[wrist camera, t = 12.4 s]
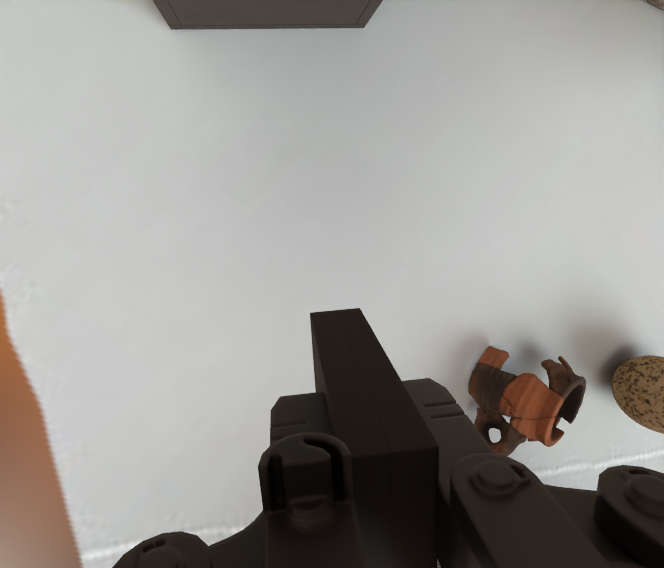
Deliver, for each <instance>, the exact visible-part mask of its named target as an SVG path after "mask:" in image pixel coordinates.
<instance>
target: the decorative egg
mask: <svg viewBox="0 0 664 568" xmlns="http://www.w3.org/2000/svg"><path fill="white" fill-rule="evenodd" d="M611 387H612V393H613V396H614V398H615V400H616V402H617V404H618V405H619V406H620V408H621V409H622V410H623V411H624V412H625V413H626V414H627V415H628V416H629V417H630V418H631V419H633V420H634V421H635V422H637V423H639V424H640V425H642V426H644V427H646V428H648V429H651V430H653V431H656V432H659V433H663V434H664V357H659V356H639V357H635V358H632V359H629V360H627V361H625V362H624V363H622V364H621V365H620V366H619V367H618V368H617V369H616V371H615V373H614V375H613V378H612V385H611Z"/></svg>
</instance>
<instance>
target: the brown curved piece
mask: <svg viewBox="0 0 664 568" xmlns="http://www.w3.org/2000/svg"><path fill="white" fill-rule="evenodd" d="M508 357H509V354H508V353H507V352H506V351H503V350H499V349H497V348H494V347H489V348H488V349H487V350H486V351H485V353H484V354H483V355H482V356H481V358H480V360H479V362H478V363H477V365H476V367H475V369H474V370H473V372H472V375H471V378H470V381H469V394H470V395H471V396H472V397H473V398H474V400H475V401H476V403H477V404H478V405H479V407H480V408H477V417H476V420H475V423H474V426H475V427H476V428H477V430H478V431H479V432H480V434H481V435H482V436H483V438H484V439H485V440H486V442H487V443H488V444H489V446H490V447H491V448H492V450H493V451H494V452H495V454H498V455H502V456H506V457H507V456H508V455H510V454H511V453H512V452H513V451H514V450H515V448H516V447H517V446H518V445H519V444H520V443H523V442H525V441H526V438H528V441H540V442H541V443H543V444H544V445H545V446H547V447H550V446H553V445H554V444H556V443H557V442H558V441H559V440H560V439H561V437H562V436H563V435H564V432H563V431H562V430H560V429H558V428H556V426H557V424H558V423H559V421H560V418H561V417H563V418H564V419H565V420H566V421H568V422H569V423H570V424H571V423H572V422H573V420H574V419H575V417H576V415H577V413H578V410H579V408H580V406H581V404H582V401H583V397H584V393H585V389H586V380H585V378H584V377H580V376H577V375H575V374H574V372H573V371H572V368H571V367H570V366H569V364H568V363H567V362H566V361H565V360H564V359H563V358H562V357H561V356H559V357H558V359H559V361H560V362H561V363H562V364H559V363H555V362H554V361H553V360H551V359H548V360H544V361H542V362H541V365H542V366H543V368H544V369H546V370H547V375H548V378H549V388H548V387H547V385H546V384H544V383H543V382H542V381H541V380H540V379H539V378H538V377H537V376H536V375H534V374H530V373H523V374H521V375H519V376H516V375H514V374H510V373H507V372H504V371H501V368H502V365H503V364H504V362H505V361H506V360H507V358H508ZM502 415H505V416H509V417H511V419H510V423H508V422H506V420H505V419H504V417H503V416H502ZM490 428H496V429H499V430H500V432H501V439H500V441H499V442H497V443H492V442H491V440H490V438H489V429H490Z"/></svg>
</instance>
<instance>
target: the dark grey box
mask: <svg viewBox="0 0 664 568" xmlns="http://www.w3.org/2000/svg"><path fill="white" fill-rule="evenodd" d="M153 1H154V3H155V4H156V6H157V7H158V9H159V11H160V12H161V14H162V15H163V17H164V18H165V20H166V21H167V23H168V25H169V26H170V28H171V29H276V28H364V27H365V25H366V24H367V22H368V21H369V19H370V18H371V16H372V15H373V14H374V12H375V11H376V9H377V8H378V6H379V5H380V3H381V2H382V1H383V0H153Z"/></svg>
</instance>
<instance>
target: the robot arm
mask: <svg viewBox="0 0 664 568" xmlns="http://www.w3.org/2000/svg"><path fill="white" fill-rule="evenodd" d="M647 1H649V2H650V3H651V4H653V5H654V6H656V7H658V8H660V9H663V10H664V0H647ZM310 320H311V333H312V347H313V360H314V374H315V387H316V393H308V394H299V395H290V396H282V397H280V398H279V399H278V401H277V402H276V404H275V405H274V406H273V408H272V409H271V428H270V447H269V448H268V449H267V450H266V451H265V452H264V453H263V454H262V456H261V459H260V462H259V465H258V471H259V479H260V487H261V495H262V503H263V511H262V512H261V513H260V515H259V516H258V517H257V518H256V519H255V521H254V522H252V523H251V524H250V525H249V526H247V527H246V528H245V529H244V530H242V531H240V532H238V533H236V534H235V535H233V536H231V537H229V538H226V539H224V540H222V541H219V542H217V543H215V544H212V545H210V546H208V545H207V544H206V543H204V542H203V541H202V540H201V539H200V538H199V537H198V536H197V535H193V534H189V533H185V532H181V531H180V532H171V533H162V534H160V535H157V536H155V537H152V538H150V539H147V540H145V541H142V542H141V543H140V544H138V545H137V546H135V547H134V548H132V549H131V550H130V551H128V552H127V553H125V554H124V555H123V556H122V557H121V558H120V560H119V561H118V562H117V563H116V564H115V565H114V566H113V568H437V558H438V561H439V563H440V566H441V568H664V474H663V473H660V472H657V471H654V470H650V469H647V468H644V467H637V466H627V465H621V466H615V467H610V468H607V469H606V470H605V471H603V472H602V473H601V474H600V475H599V480H598V487H597V491H591V490H582V489H573V488H563V487H556V486H550V485H545V484H543V483H542V482H541V481H540V480H539V479H538V477H537V476H536V475H535V474H534V473H533V472H531V471H530V470H529V469H528V468H527V467H526V466H525V465H523V464H521V463H519V462H517V461H515V460H513V459H511V458H509V457H506V456H502V455H498V454H495V452H494V451H493V450H492V448H491V447H490V446H489V444H488V443H487V442H486V440H485V439H484V438H483V436H482V435H481V434H480V432H479V431H478V430H477V428H476V427H475V426H474V424H473V423H472V422H471V420H470V419H469V418H468V416H467V415H465V414H464V411H463V410H462V409H461V407H460V406H459V405H458V404H456V401H455V399H454V398H453V397H452V395H451V394H450V393H449V391H448V390H447V389H446V388H445V387H443V386H442V385H440V384H438V383H437V382H435V381H433V380H432V379H430V378H425V379H417V380H408V381H401V379H400V378H399V376H398V374H397V372H396V371H395V369H394V367H393V365H392V364H391V362H390V360H389V358H388V357H387V355H386V353H385V351H384V350H383V348H382V346H381V344H380V343H379V341H378V339H377V338H376V336H375V334H374V332H373V331H372V329H371V327H370V325H369V324H368V322H367V320H366V318H365V317H364V315H363V313H362V311H361V310H360V308H356V309H345V310H335V311H324V312H314V313H310Z"/></svg>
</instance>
